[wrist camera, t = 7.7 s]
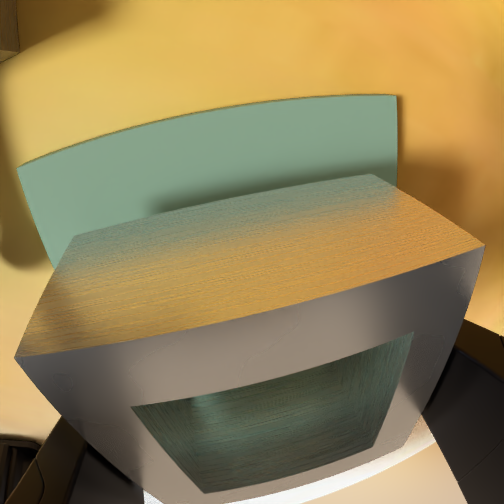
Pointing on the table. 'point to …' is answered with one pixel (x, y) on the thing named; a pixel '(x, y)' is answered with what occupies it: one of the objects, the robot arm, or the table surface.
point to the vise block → (8, 30)
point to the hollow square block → (253, 336)
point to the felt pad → (207, 161)
